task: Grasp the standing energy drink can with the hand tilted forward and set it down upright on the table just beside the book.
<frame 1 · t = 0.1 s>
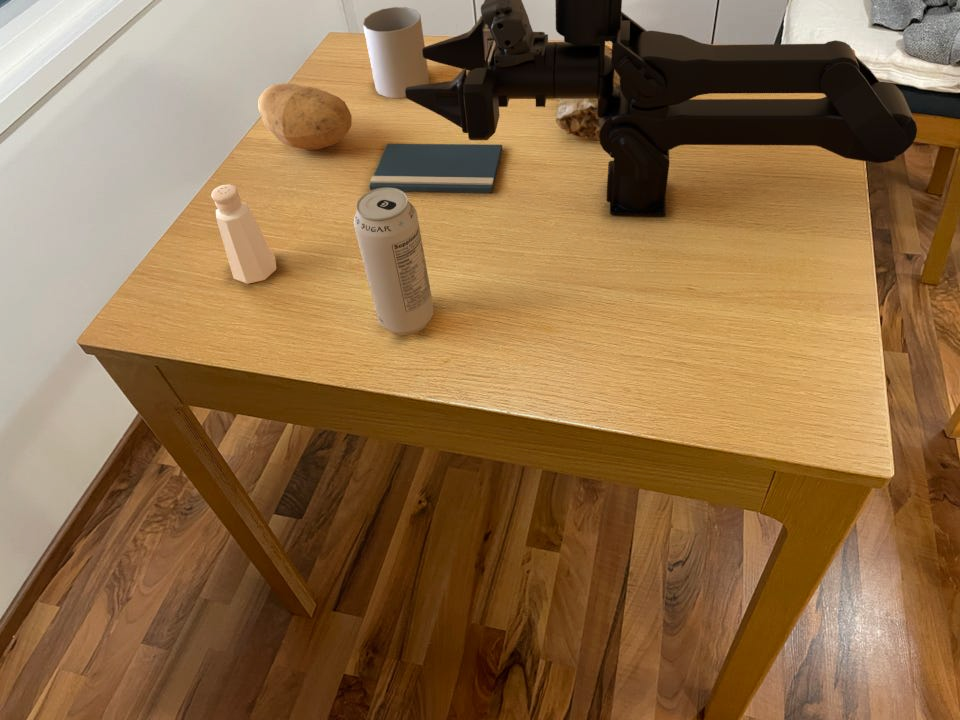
hand: (414, 72, 83), 17 cm above the table, tool horizontal, fingers open, 9 cm apart
pepper shaker: (255, 270, 88), on the table
cup: (402, 85, 116), on the table
sponge: (589, 109, 106), on the table
energy drink can: (407, 319, 80), on the table
book: (437, 169, 99), on the table
potato: (315, 145, 106), on the table
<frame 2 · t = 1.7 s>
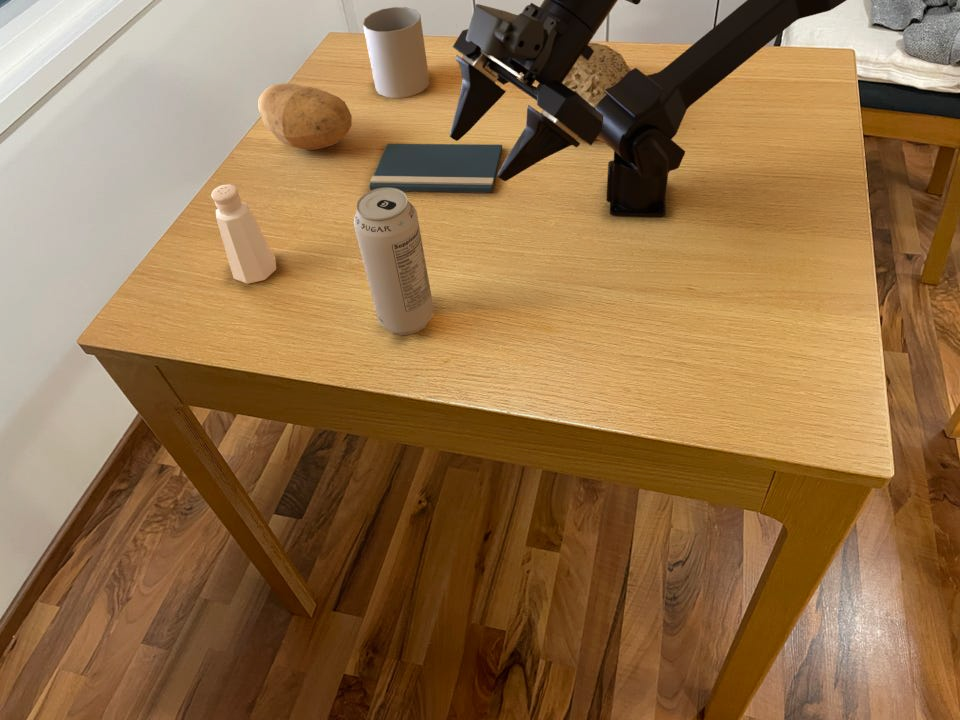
hand: (476, 158, 75), 14 cm above the table, tool tilted 45°, fingers open, 9 cm apart
nothing on the table moved.
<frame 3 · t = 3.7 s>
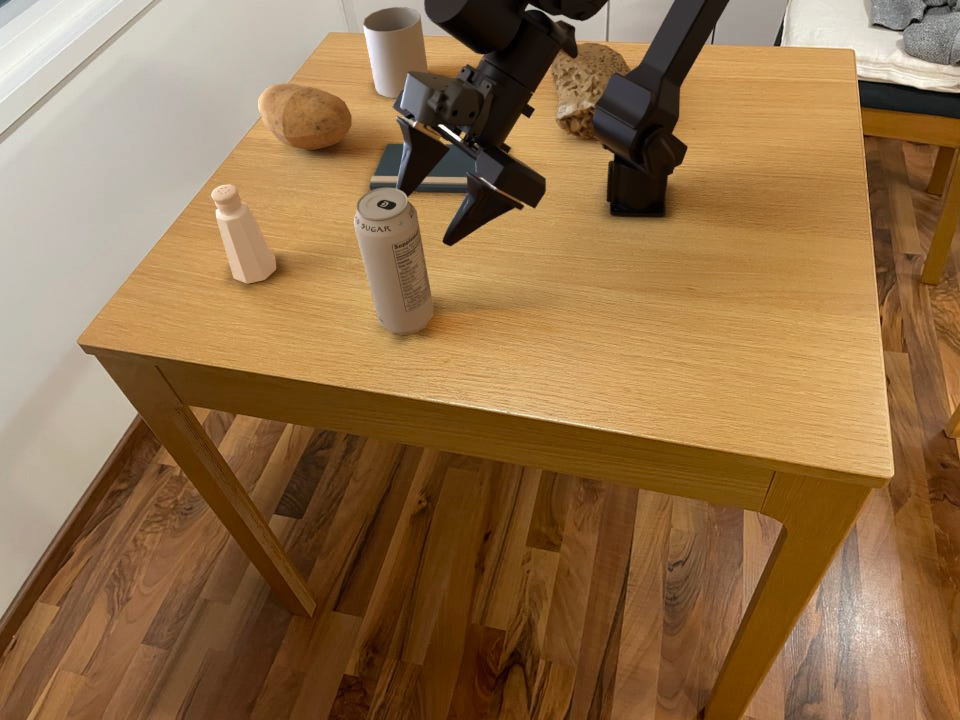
hand: (421, 221, 73), 11 cm above the table, tool tilted 45°, fingers open, 9 cm apart
nothing on the table moved.
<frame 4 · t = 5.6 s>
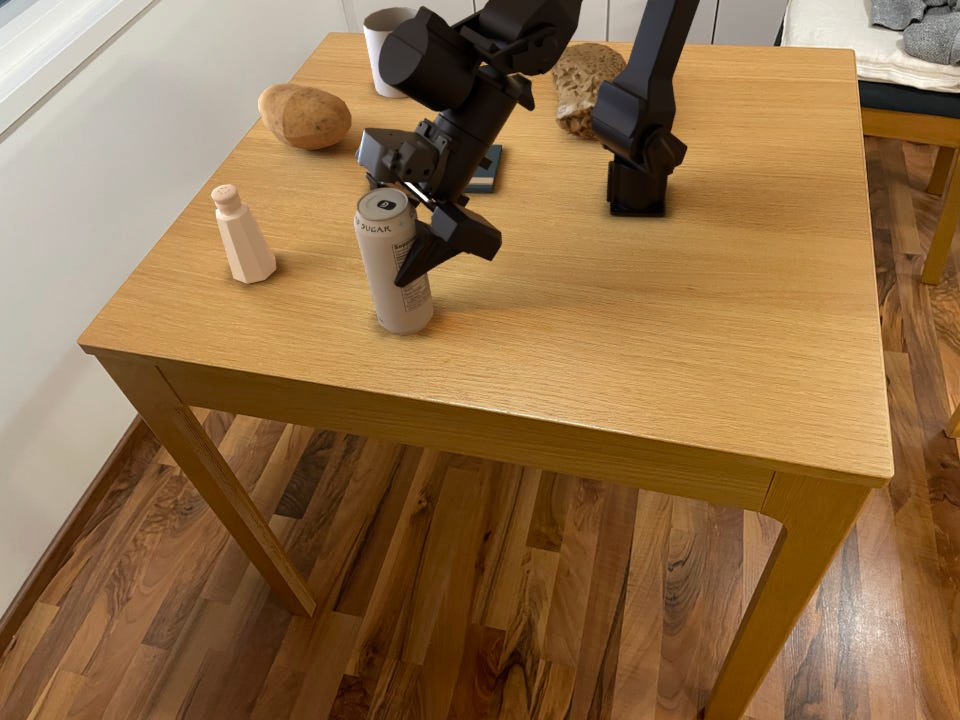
hand: (382, 269, 74), 8 cm above the table, tool tilted 45°, fingers closed on energy drink can, 6 cm apart
energy drink can: (407, 319, 80), on the table, touching gripper
everything else where it was.
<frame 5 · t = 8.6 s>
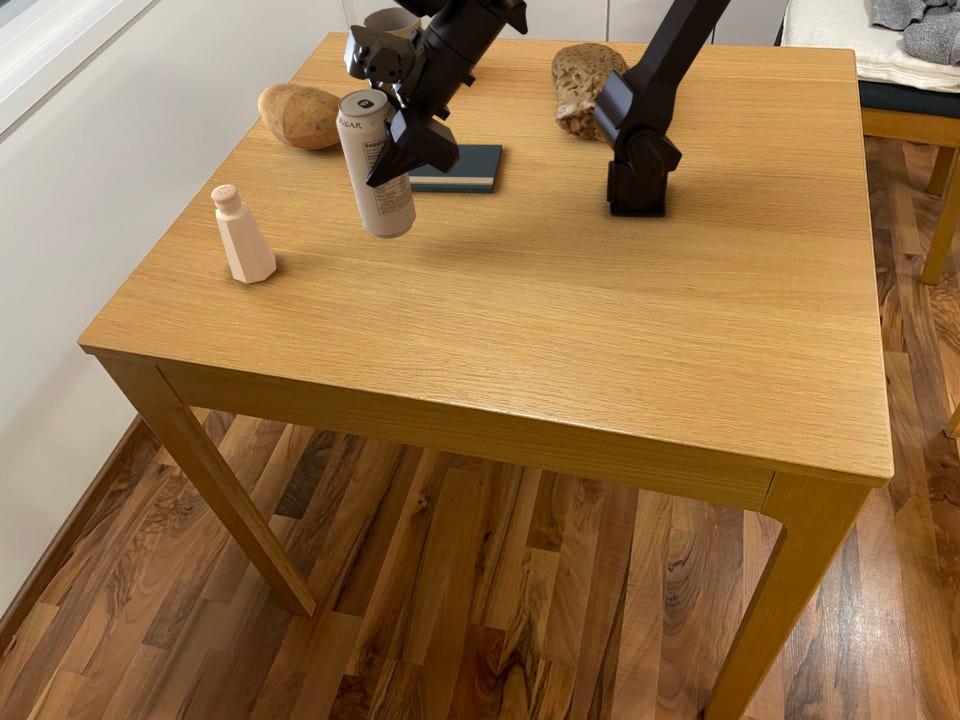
hand: (364, 169, 78), 12 cm above the table, tool tilted 45°, fingers closed on energy drink can, 6 cm apart
energy drink can: (391, 226, 84), point 5 cm above the table, touching gripper
everything else where it was.
when the fingers open (8 cm above the table, at t = 11.7 s): energy drink can stays where it is, on the table.
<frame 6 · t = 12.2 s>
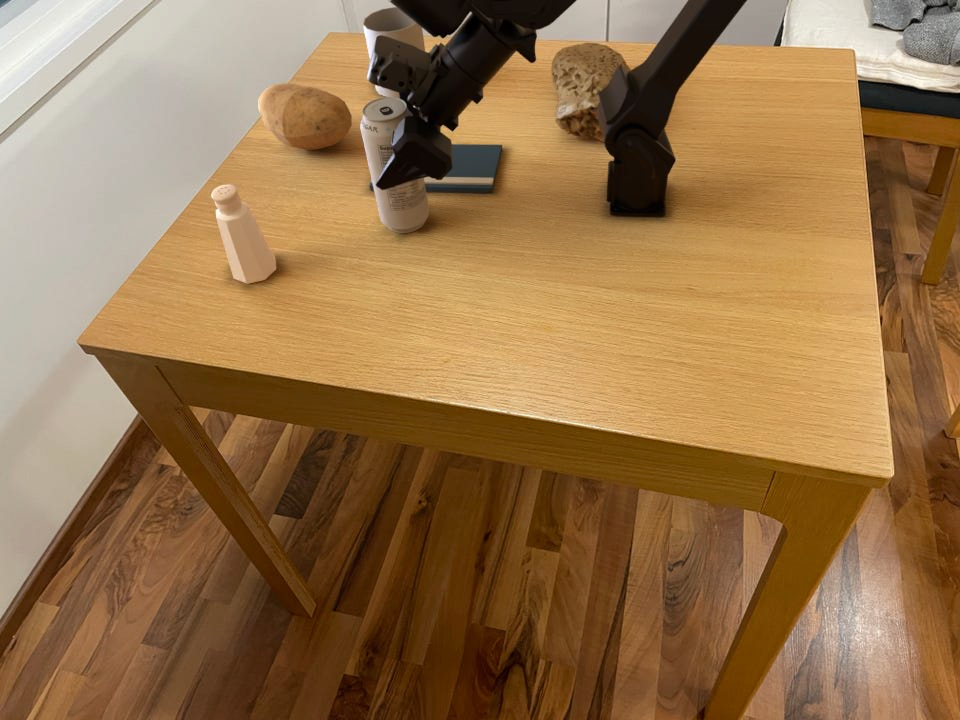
hand: (381, 164, 86), 8 cm above the table, tool tilted 45°, fingers open, 9 cm apart
energy drink can: (406, 221, 92), on the table
everything else where it was.
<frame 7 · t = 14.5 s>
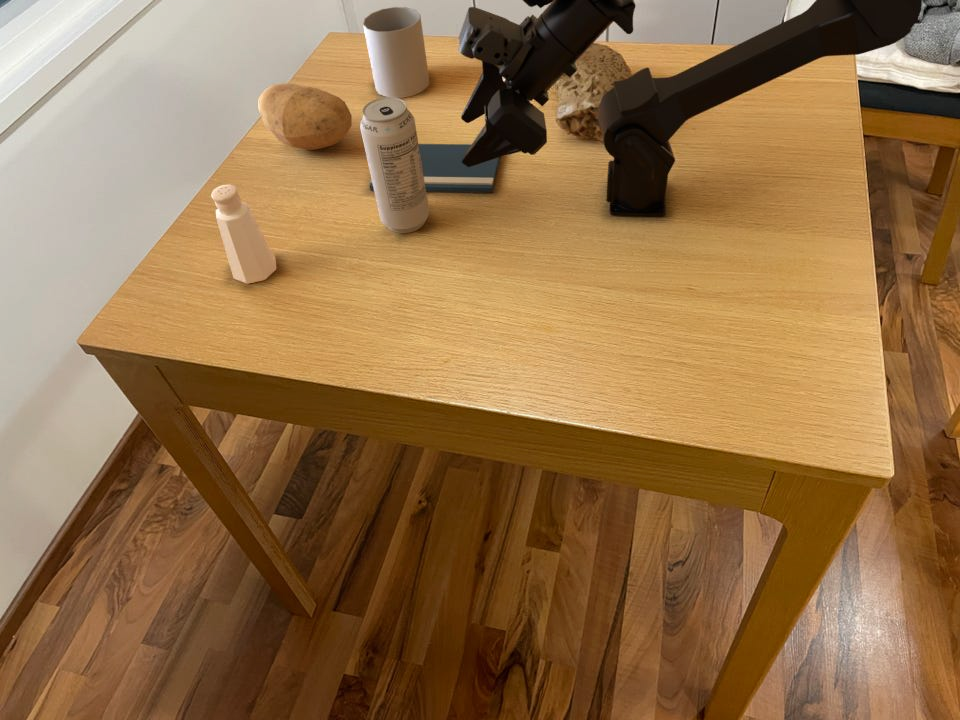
hand: (464, 141, 84), 10 cm above the table, tool tilted 45°, fingers open, 9 cm apart
nothing on the table moved.
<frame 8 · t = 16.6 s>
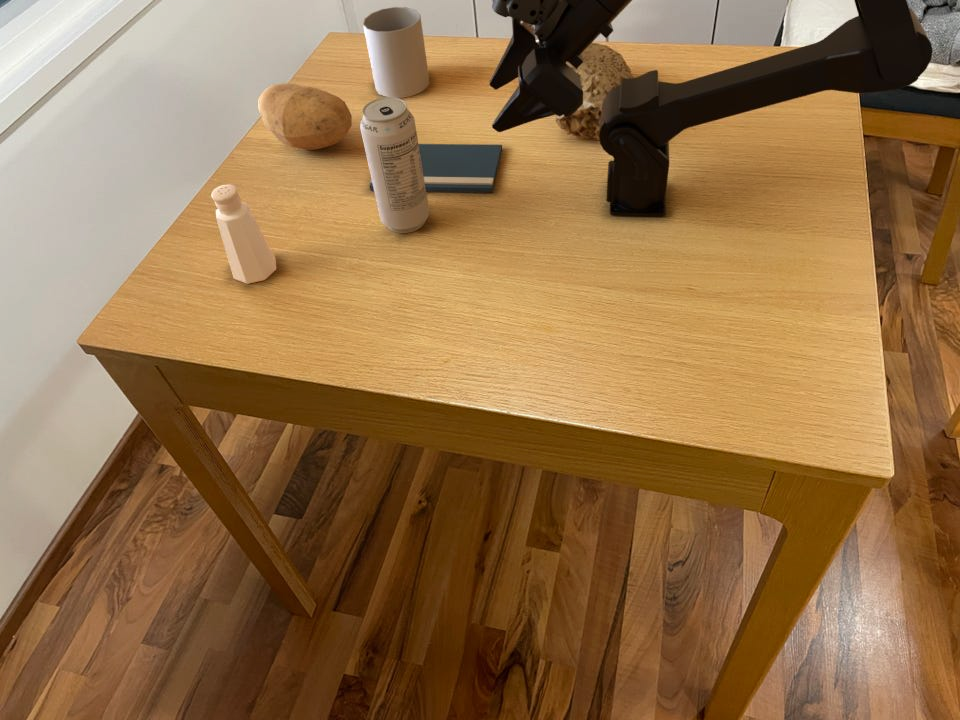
hand: (493, 107, 82), 14 cm above the table, tool tilted 45°, fingers open, 9 cm apart
nothing on the table moved.
at the end: energy drink can inside the target area on the table beside the book (2.6 cm from its centre), on the table; energy drink can tilted 0° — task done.
